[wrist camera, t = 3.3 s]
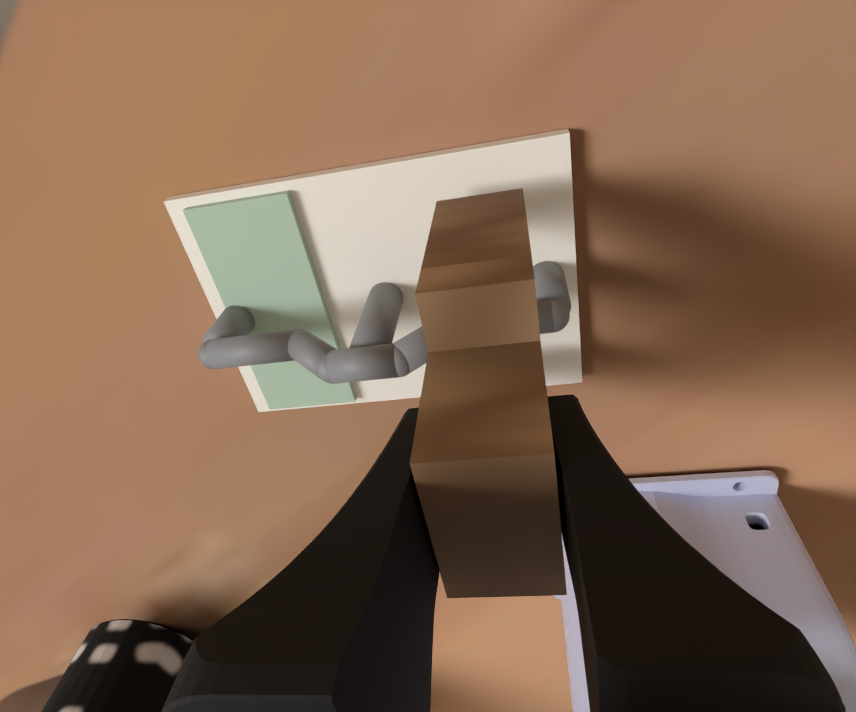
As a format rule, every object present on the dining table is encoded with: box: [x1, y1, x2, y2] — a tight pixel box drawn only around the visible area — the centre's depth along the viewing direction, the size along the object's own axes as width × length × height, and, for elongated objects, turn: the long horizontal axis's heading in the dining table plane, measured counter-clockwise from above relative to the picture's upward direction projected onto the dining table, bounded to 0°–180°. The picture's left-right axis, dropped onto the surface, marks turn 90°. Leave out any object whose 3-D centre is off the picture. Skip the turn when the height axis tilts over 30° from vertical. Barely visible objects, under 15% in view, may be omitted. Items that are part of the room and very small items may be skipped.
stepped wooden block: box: [410, 188, 567, 598], centre depth 15 cm, size 2×7×9 cm, turn 11°
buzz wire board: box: [164, 129, 582, 412], centre depth 18 cm, size 13×9×5 cm
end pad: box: [183, 190, 356, 410], centre depth 21 cm, size 4×8×1 cm, turn 11°
